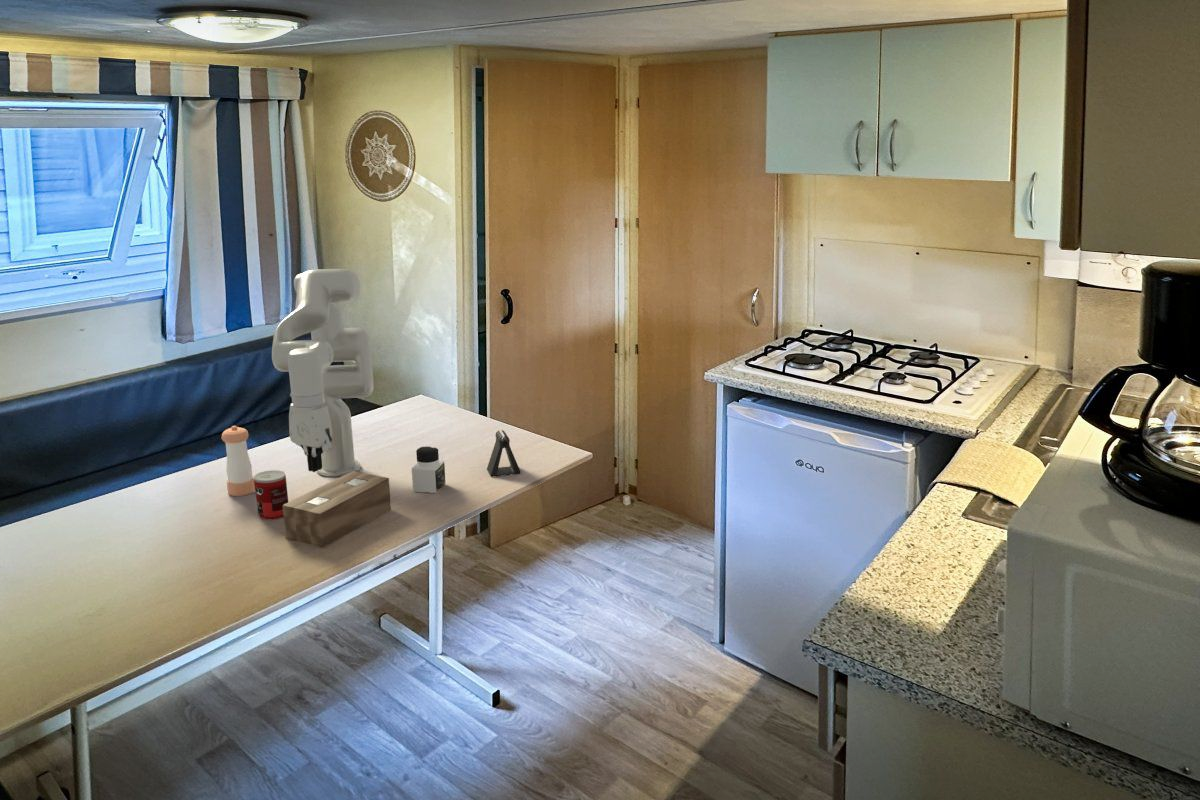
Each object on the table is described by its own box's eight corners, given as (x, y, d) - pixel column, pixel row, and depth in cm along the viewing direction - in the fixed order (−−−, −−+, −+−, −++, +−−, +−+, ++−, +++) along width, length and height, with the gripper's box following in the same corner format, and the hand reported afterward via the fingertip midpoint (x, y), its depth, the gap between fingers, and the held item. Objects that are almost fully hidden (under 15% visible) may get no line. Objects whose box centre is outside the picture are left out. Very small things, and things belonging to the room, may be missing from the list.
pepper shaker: (261, 488, 271) (253, 424, 265) (241, 497, 265) (233, 431, 259) (241, 484, 274) (234, 420, 268) (222, 493, 268) (213, 428, 262)
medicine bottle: (437, 493, 267) (434, 453, 263) (412, 492, 268) (410, 451, 265) (445, 484, 273) (443, 444, 270) (422, 482, 275) (419, 443, 271)
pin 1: (309, 531, 241) (306, 502, 238) (320, 525, 244) (317, 496, 242) (321, 534, 239) (318, 505, 237) (332, 528, 242) (329, 499, 240)
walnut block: (286, 538, 239) (282, 505, 237) (355, 501, 261) (353, 470, 259) (323, 547, 234) (319, 513, 231) (391, 509, 256) (388, 478, 254)
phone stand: (516, 466, 287) (515, 428, 283) (520, 473, 281) (519, 434, 278) (486, 470, 284) (485, 431, 281) (490, 477, 279) (488, 438, 275)
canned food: (262, 509, 257) (257, 470, 254) (292, 507, 258) (288, 469, 255) (254, 520, 250) (249, 481, 247) (286, 519, 250) (281, 480, 247)
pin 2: (347, 511, 253) (344, 483, 250) (357, 506, 256) (354, 478, 254) (359, 514, 251) (356, 485, 248) (369, 509, 254) (366, 480, 252)
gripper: (273, 399, 232) (281, 469, 237) (321, 408, 225) (328, 480, 231) (296, 390, 238) (303, 459, 244) (343, 399, 232) (349, 469, 237)
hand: (315, 469), depth 237 cm, fingers closed
